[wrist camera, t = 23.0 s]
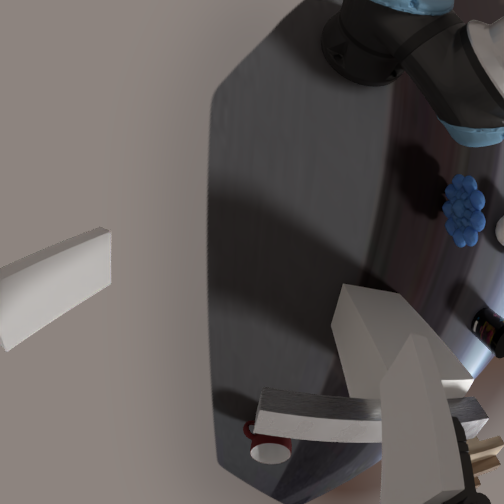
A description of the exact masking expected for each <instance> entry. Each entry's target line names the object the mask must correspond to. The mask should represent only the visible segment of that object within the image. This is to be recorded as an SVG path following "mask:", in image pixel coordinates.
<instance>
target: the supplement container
mask: <svg viewBox="0 0 504 504" xmlns="http://www.w3.org/2000/svg"><path fill="white" fill-rule="evenodd" d="M472 332H473V334H474V335H475V336H476V337H477V338H478V339H479V340H480V341H481V342H482V343H483V344H484V345H485V346H486V347H487V348H488V349H489V350H490V351H491V352H492V353H493V354H494V355H495V356H496V357H497V358H502V357H504V319H503V318H502V317H501V316H499V315H498V314H497V313H495V312H494V311H493V310H491V309H490V308H484V309H482V310H480V311H479V312H478V313H477V314H476V316H475V317H474V319H473V322H472Z"/></svg>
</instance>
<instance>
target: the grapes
mask: <svg viewBox="0 0 504 504" xmlns="http://www.w3.org/2000/svg"><path fill="white" fill-rule="evenodd" d="M452 183H453V184H449V185H448V186H447V187H446V189H445V194H446V196H447V198H448V199H449V200H450V201H449V200H448V201H446V202H445V203H444V204H443V207H442V209H443V212H444V214H445V216H446V217H447V218H449V219H448V220H447V221H446V223H445V227H446V230H447V232H448V233H449V234H450V235H451V236H453V240H454V242H455V244H456V245H457V246H458V247H463V246H465V245H466V244H467V245H468V246H474V245H475V244H476V243H477V241H478V232H477V231H479V232H480V231H481V230H483V229H484V227H485V224H486V220H485V217H484V215H483V213H482V212H481V209H483V207H484V206H485V197H484V195H483V194H482V192H481V191H479V190H477V183H476V181H475V179H474V178H473V177H471V176H466V177H464V176H462V175H461V174H457V175H455V176H454V178H453V180H452Z"/></svg>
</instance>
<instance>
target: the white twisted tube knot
mask: <svg viewBox="0 0 504 504" xmlns="http://www.w3.org/2000/svg"><path fill="white" fill-rule="evenodd" d="M495 234H496V237H497V239H498V241H499V242H500V243H501V244H502V245H503V246H504V216H503V217H502V218H500V220H499V221H498V223H497V225H496V229H495Z"/></svg>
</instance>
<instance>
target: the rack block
mask: <svg viewBox="0 0 504 504" xmlns="http://www.w3.org/2000/svg"><path fill="white" fill-rule="evenodd" d="M331 328H332V332H333V335H334V339H335V342H336V346H337V349H338V353H339V357H340V360H341V364H342V368H343V372H344V376H345V379H346V383H347V387H348V391H349V395H350V398H362V399H381V398H380V382H381V380H382V379H383V377H384V376H385V374H386V373H387V371H388V370H389V368H390V367H391V365H392V364H393V362H394V360H395V359H396V357H397V356H398V354H399V352H400V351H401V349H402V347H403V346H404V344H405V342H406V340H407V339H408V337H409V335H410V333H413V334H417V335H420V336H424V337H427V340H428V342H429V345H430V348H431V351H432V353H433V356H434V359H435V362H436V365H437V368H438V371H439V374H440V378H441V381H442V384H443V387H444V391H445V394H446V398H447V399H451V398H464V396H465V394H466V393H467V391H468V389H469V387H470V386H471V384H472V382H473V381H474V378H473V377H472V376H471V374H470V373H469V372H468V371H467V369H466V368H465V367H464V366H463V365H462V363H461V362H460V361H459V360H458V359H457V357H456V356H455V355H454V354H453V353H452V351H451V350H450V349H449V348H448V347H447V346H446V344H445V343H444V342H443V341H442V340H441V339H440V337H439V336H438V335H437V334H436V333H435V332H434V331H433V330H432V328H431V327H430V326H429V325H428V324H427V323H426V322H425V321H424V320H423V318H422V317H421V316H420V315H419V314H418V313H417V312H416V311H415V310H414V309H413V308H412V306H411V305H410V304H409V303H408V302H407V301H406V300H405V299H404V298H403V297H402V296H401V295H400V294H399V293H393V292H388V291H382V290H377V289H371V288H366V287H360V286H355V285H349V284H344V283H343V285H342V288H341V292H340V296H339V299H338V303H337V306H336V309H335V313H334V316H333V319H332V323H331Z"/></svg>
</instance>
